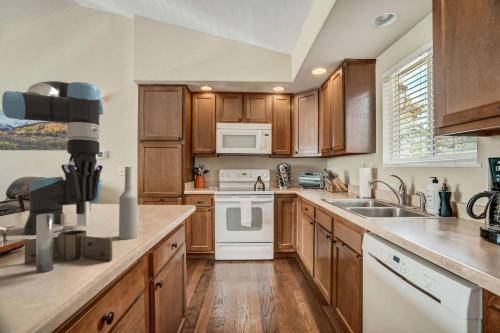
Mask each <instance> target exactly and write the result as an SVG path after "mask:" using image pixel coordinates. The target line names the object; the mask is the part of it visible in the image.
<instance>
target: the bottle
mask: <svg viewBox="0 0 500 333" xmlns="http://www.w3.org/2000/svg"><path fill="white" fill-rule="evenodd" d="M132 168H133V166H124V190H123V192H122V194H120V196H119V201H118V202H119V206H118V207H119V209H118V211H119V212H118V215H119V216H118V239H119V240H132V239H135V238H138V196H137V195H136V193H135V192H134V191H133V181H132V178H133V177H132V176H133V174H132V171H133V170H132Z"/></svg>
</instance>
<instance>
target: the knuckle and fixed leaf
mask: <svg viewBox="0 0 500 333" xmlns="http://www.w3.org/2000/svg"><path fill="white" fill-rule="evenodd" d="M83 236H87V230H83V229H80V230H79V229H76V230H67V232H62V233H61V232H60V233H59V234H57V236H53V261H59V262H72V261H73V262H74V261H77V260H80V259H84V258H83ZM31 263H36V238H30V239H24V264H25V265H26V264H31Z"/></svg>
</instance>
